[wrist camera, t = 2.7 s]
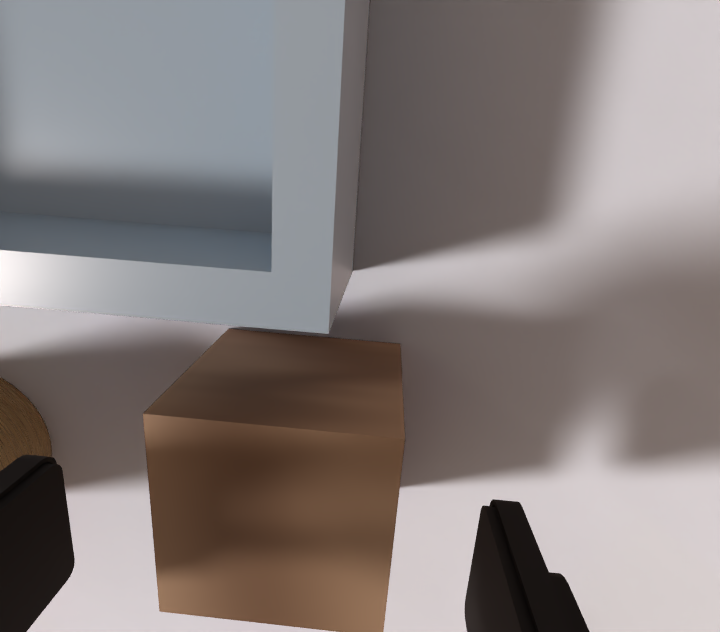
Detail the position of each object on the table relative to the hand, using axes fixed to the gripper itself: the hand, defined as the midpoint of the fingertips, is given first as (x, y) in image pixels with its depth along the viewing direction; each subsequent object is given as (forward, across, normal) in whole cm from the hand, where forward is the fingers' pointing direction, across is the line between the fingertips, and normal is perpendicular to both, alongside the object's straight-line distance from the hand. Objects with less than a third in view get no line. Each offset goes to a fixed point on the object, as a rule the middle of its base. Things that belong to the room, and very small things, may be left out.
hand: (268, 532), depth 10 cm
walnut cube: (+4, 0, -1) cm, 4 cm away
